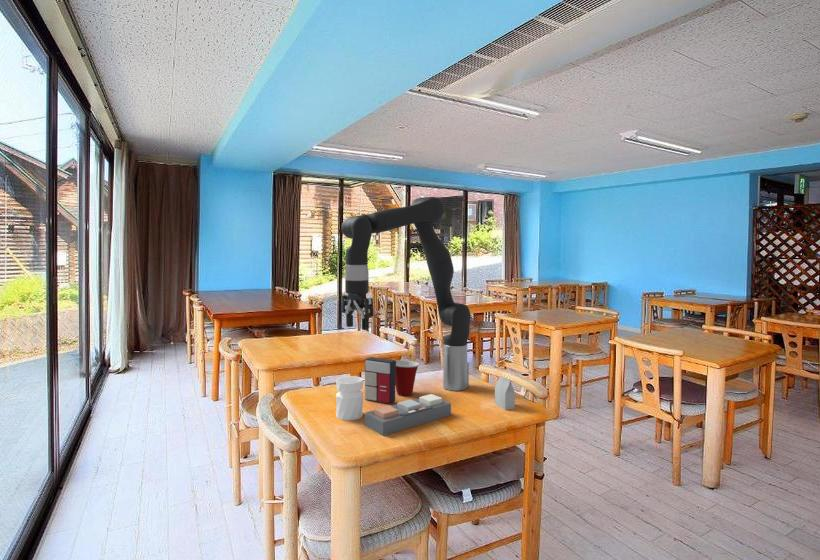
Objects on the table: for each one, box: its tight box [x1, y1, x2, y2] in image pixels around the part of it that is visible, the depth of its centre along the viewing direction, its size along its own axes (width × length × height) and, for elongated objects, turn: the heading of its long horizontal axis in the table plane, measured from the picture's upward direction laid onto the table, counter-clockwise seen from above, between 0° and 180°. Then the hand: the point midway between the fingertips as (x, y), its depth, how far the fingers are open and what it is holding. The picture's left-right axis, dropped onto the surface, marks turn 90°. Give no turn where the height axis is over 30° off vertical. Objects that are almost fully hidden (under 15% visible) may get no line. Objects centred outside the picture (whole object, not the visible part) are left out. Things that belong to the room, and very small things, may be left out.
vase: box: [335, 375, 364, 422], centre depth 153 cm, size 9×9×12 cm
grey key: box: [396, 399, 421, 412], centre depth 149 cm, size 5×5×3 cm
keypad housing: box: [364, 398, 452, 436], centre depth 150 cm, size 27×10×4 cm, turn 128°
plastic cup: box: [395, 360, 420, 397], centre depth 176 cm, size 11×11×12 cm
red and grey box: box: [364, 356, 397, 405], centre depth 168 cm, size 11×4×15 cm, turn 62°
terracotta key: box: [373, 404, 398, 419], centre depth 144 cm, size 5×5×3 cm
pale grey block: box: [494, 375, 516, 411], centre depth 162 cm, size 4×7×10 cm, turn 20°
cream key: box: [418, 393, 443, 406], centre depth 155 cm, size 5×5×3 cm
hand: (357, 328), depth 153 cm, fingers open, 8 cm apart
